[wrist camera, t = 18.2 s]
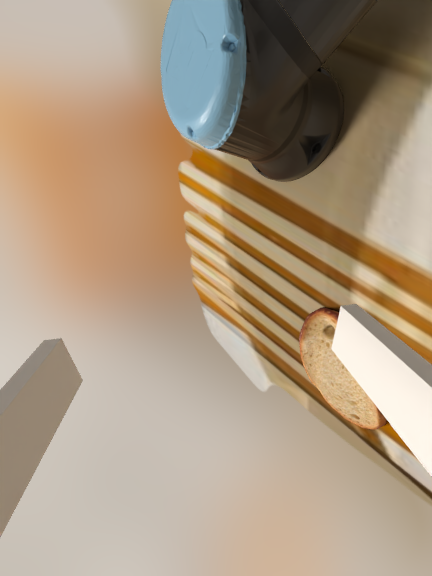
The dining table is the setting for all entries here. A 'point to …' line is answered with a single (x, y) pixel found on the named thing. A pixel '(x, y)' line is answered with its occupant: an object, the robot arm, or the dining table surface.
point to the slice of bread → (334, 371)
